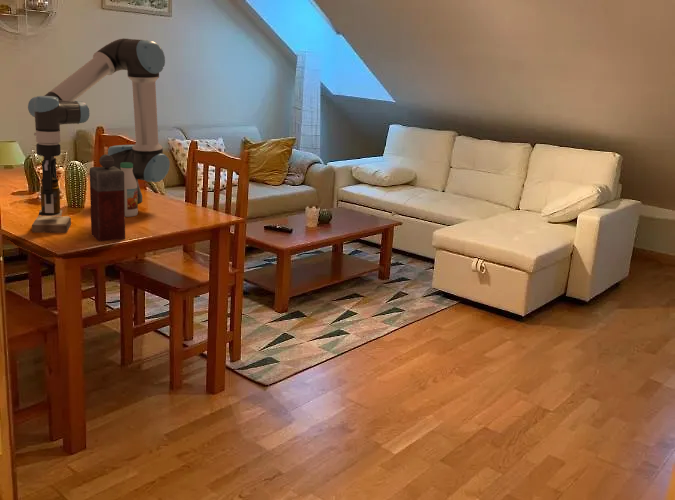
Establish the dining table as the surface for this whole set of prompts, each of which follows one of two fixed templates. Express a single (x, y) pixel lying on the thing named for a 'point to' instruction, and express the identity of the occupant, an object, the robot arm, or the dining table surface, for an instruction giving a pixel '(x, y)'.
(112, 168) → the square decanter
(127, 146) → the robot arm
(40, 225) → the stand
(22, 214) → the dining table surface
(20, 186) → the dining table surface
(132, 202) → the milk bottle
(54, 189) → the condiment
